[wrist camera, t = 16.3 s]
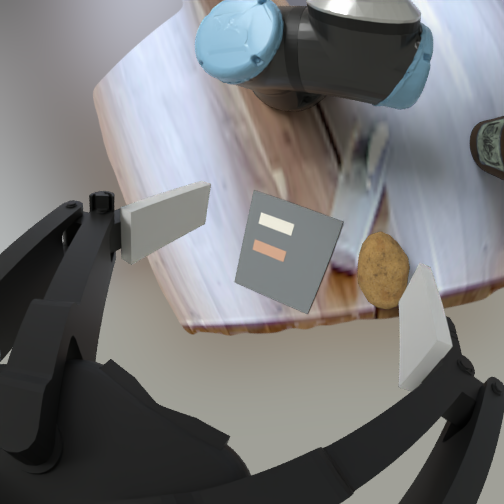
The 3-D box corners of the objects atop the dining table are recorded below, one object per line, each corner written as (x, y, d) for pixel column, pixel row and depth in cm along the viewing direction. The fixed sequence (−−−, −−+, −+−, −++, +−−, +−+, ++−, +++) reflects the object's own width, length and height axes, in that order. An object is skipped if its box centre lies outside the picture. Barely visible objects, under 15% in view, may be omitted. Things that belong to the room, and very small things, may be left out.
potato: (402, 219, 43) (407, 233, 37) (410, 289, 47) (413, 312, 40) (351, 227, 48) (347, 243, 41) (363, 295, 52) (359, 317, 45)
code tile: (254, 190, 53) (253, 190, 53) (343, 221, 48) (342, 222, 48) (235, 281, 64) (234, 282, 63) (307, 313, 59) (307, 314, 58)
